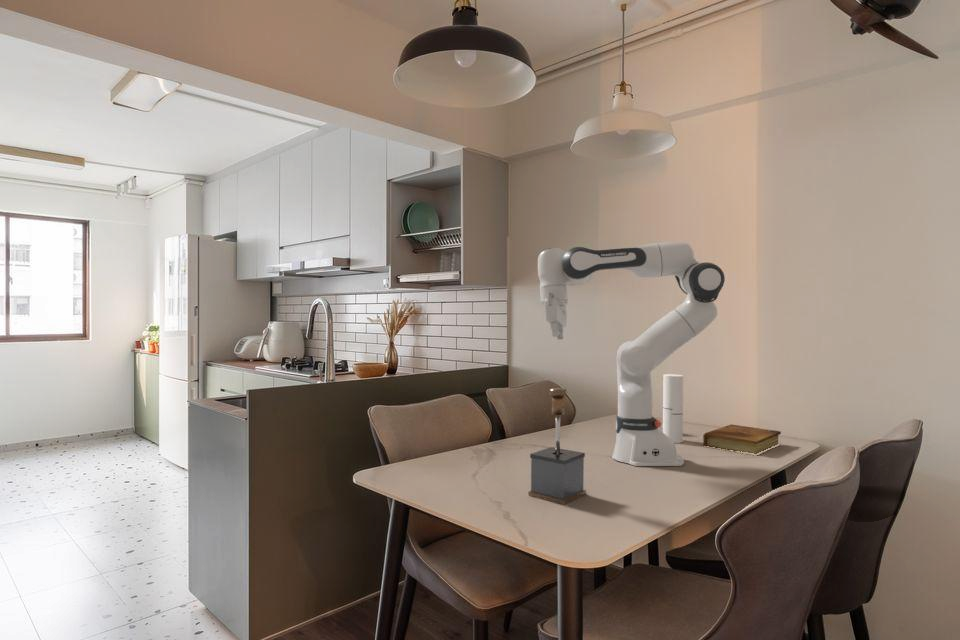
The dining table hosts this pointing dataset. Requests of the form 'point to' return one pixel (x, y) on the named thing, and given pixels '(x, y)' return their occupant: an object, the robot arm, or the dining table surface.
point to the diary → (741, 438)
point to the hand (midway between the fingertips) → (558, 338)
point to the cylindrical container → (673, 407)
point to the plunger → (558, 412)
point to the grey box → (557, 475)
